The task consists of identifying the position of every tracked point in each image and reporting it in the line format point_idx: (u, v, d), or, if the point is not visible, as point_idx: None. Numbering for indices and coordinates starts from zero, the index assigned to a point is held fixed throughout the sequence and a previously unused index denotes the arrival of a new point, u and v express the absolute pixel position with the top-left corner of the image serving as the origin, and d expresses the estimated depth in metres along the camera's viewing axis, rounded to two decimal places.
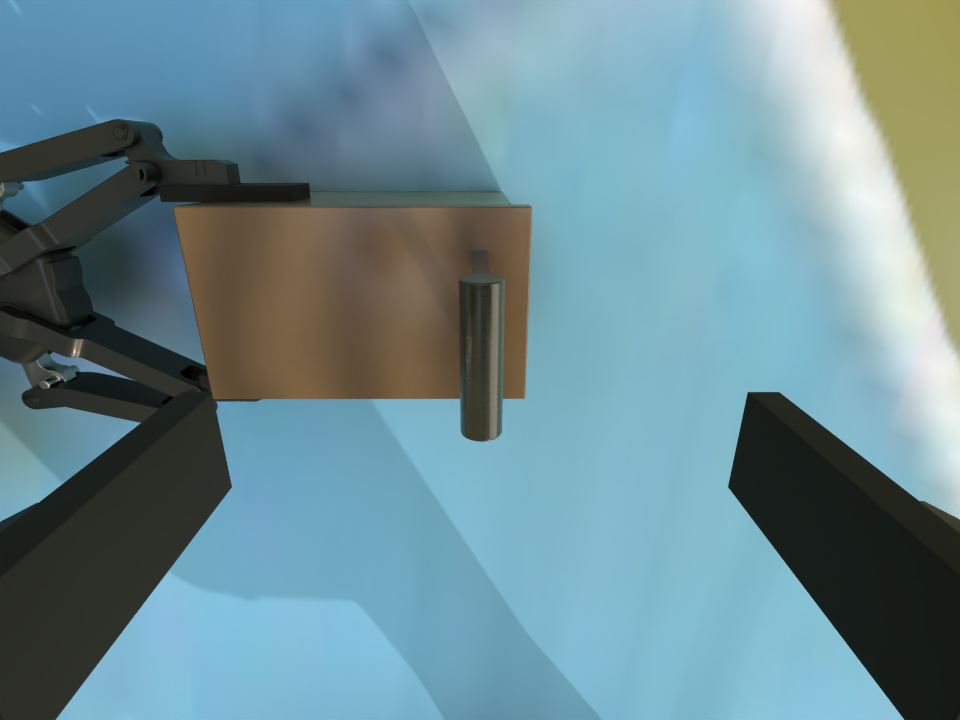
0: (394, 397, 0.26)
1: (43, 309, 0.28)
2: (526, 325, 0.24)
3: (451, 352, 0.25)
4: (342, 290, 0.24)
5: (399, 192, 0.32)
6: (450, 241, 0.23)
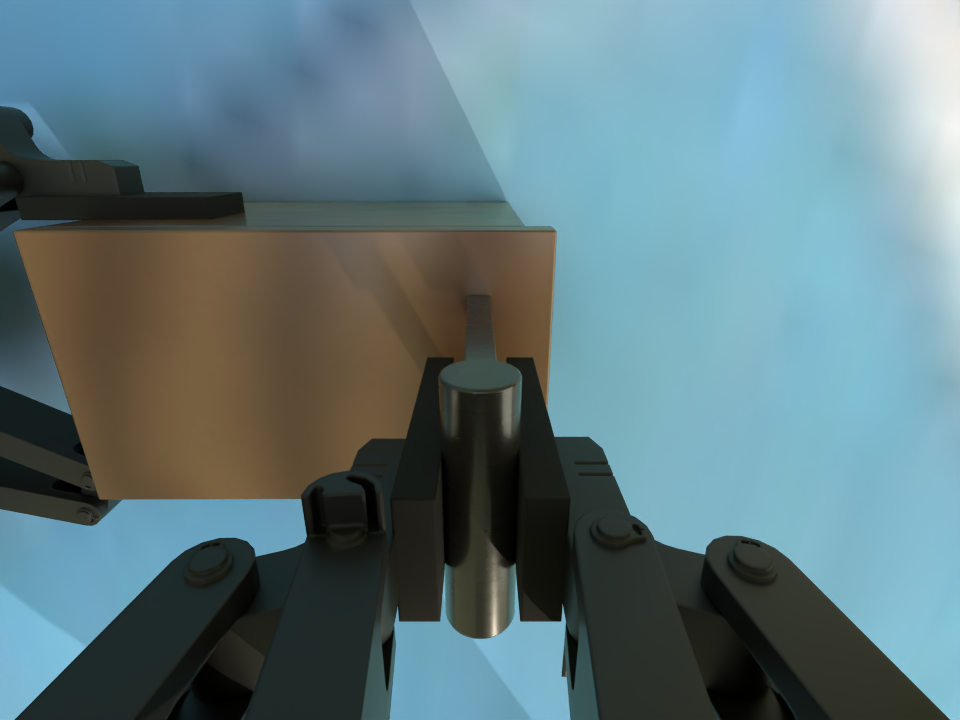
0: None
1: None
2: (546, 400, 0.17)
3: None
4: (276, 352, 0.16)
5: (373, 202, 0.24)
6: (433, 282, 0.15)
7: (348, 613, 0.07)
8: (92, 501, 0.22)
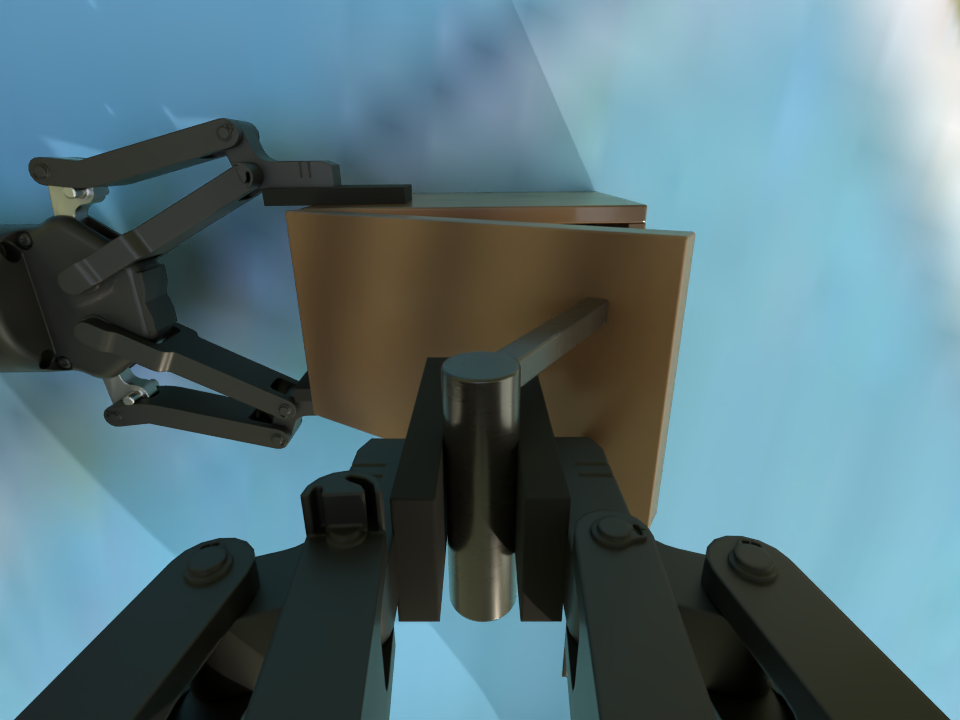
0: None
1: (131, 321, 0.26)
2: (660, 424, 0.15)
3: None
4: (426, 324, 0.19)
5: (490, 193, 0.31)
6: (555, 280, 0.16)
7: (348, 613, 0.07)
8: (282, 429, 0.28)
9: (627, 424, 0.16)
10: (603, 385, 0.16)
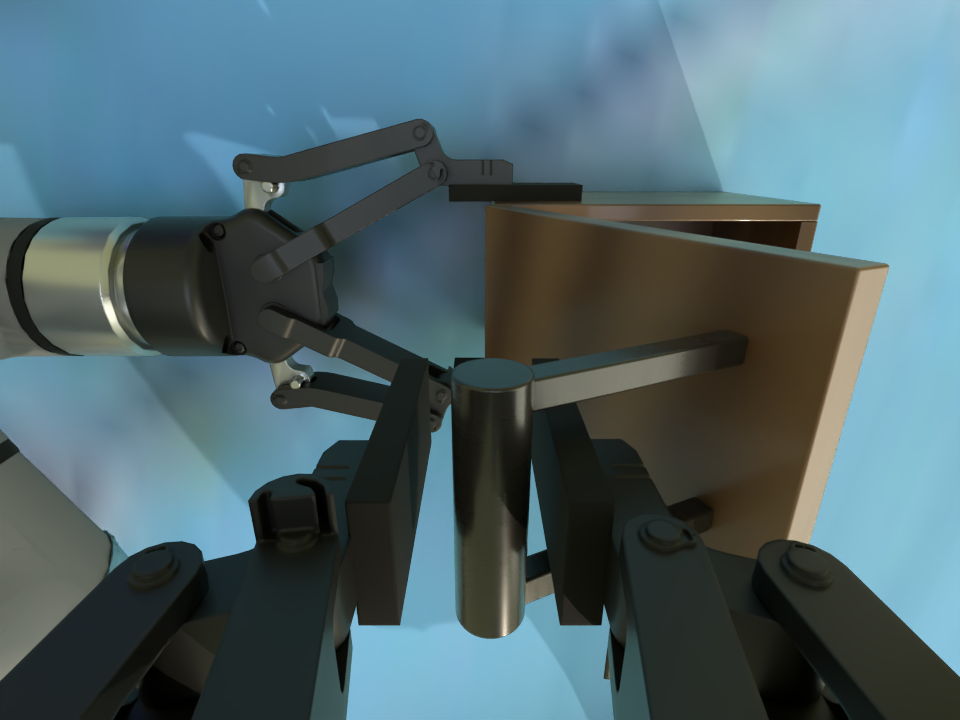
0: None
1: (308, 309, 0.28)
2: (791, 509, 0.12)
3: (665, 477, 0.15)
4: (572, 330, 0.18)
5: (627, 192, 0.32)
6: (694, 303, 0.13)
7: (298, 616, 0.06)
8: (435, 413, 0.30)
9: (751, 496, 0.12)
10: (731, 439, 0.13)
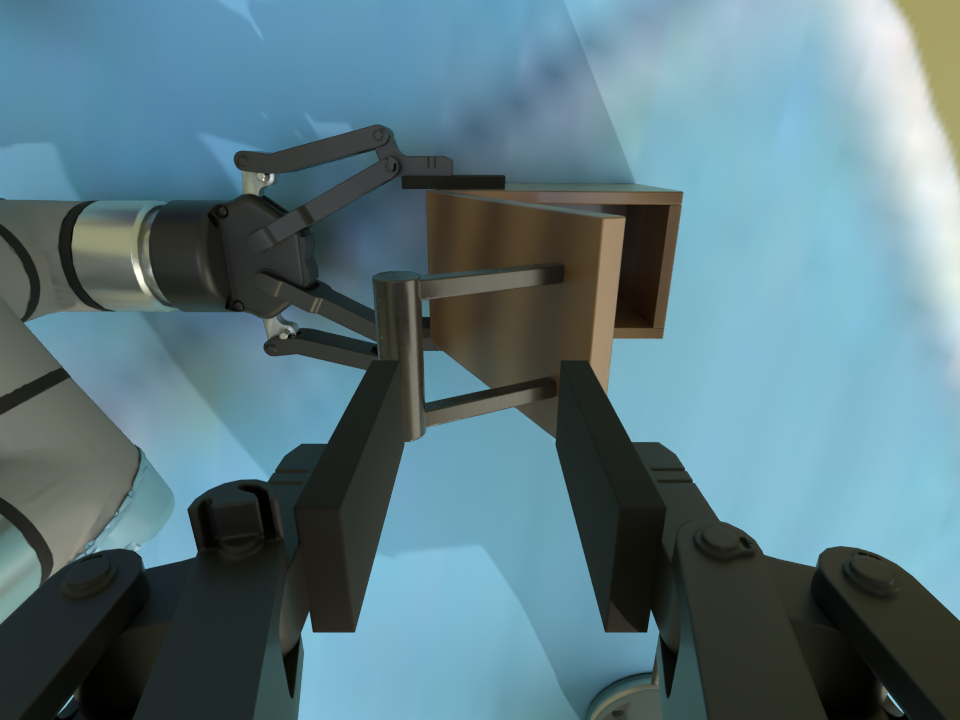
0: None
1: (293, 274, 0.35)
2: None
3: (533, 369, 0.23)
4: None
5: None
6: (539, 248, 0.21)
7: (241, 624, 0.06)
8: None
9: None
10: (560, 333, 0.20)
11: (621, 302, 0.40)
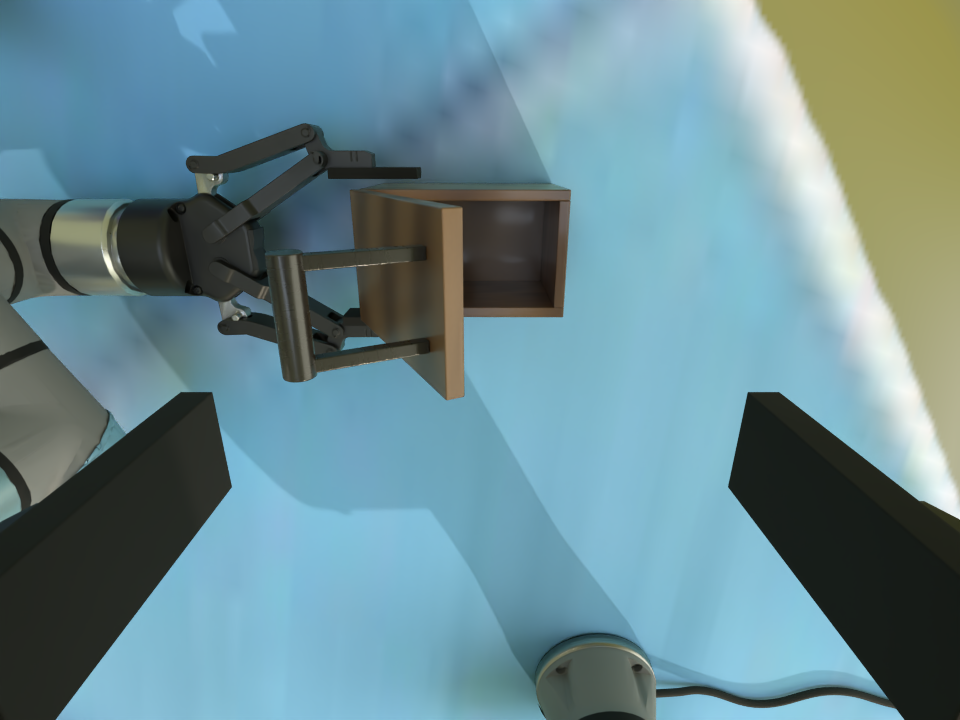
0: None
1: (243, 262, 0.40)
2: (443, 326, 0.24)
3: (417, 332, 0.28)
4: None
5: None
6: (413, 233, 0.26)
7: None
8: (334, 346, 0.43)
9: (436, 326, 0.25)
10: (428, 300, 0.26)
11: (539, 288, 0.45)
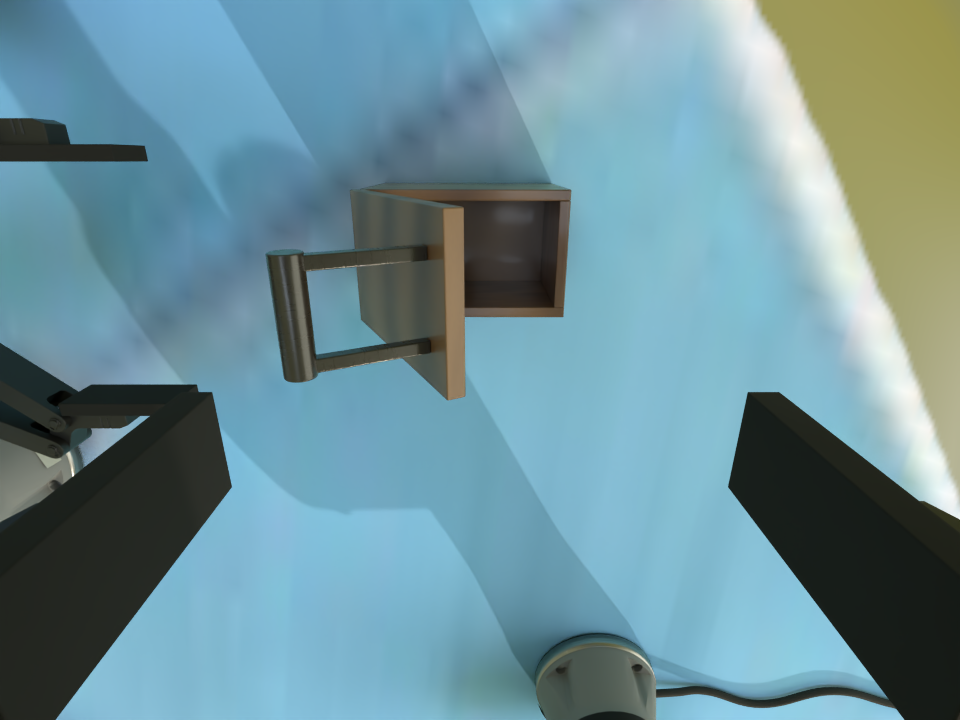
0: None
1: None
2: (444, 326, 0.24)
3: (418, 332, 0.28)
4: None
5: None
6: (414, 233, 0.26)
7: None
8: (59, 441, 0.30)
9: (437, 327, 0.25)
10: (429, 300, 0.26)
11: (539, 288, 0.45)
